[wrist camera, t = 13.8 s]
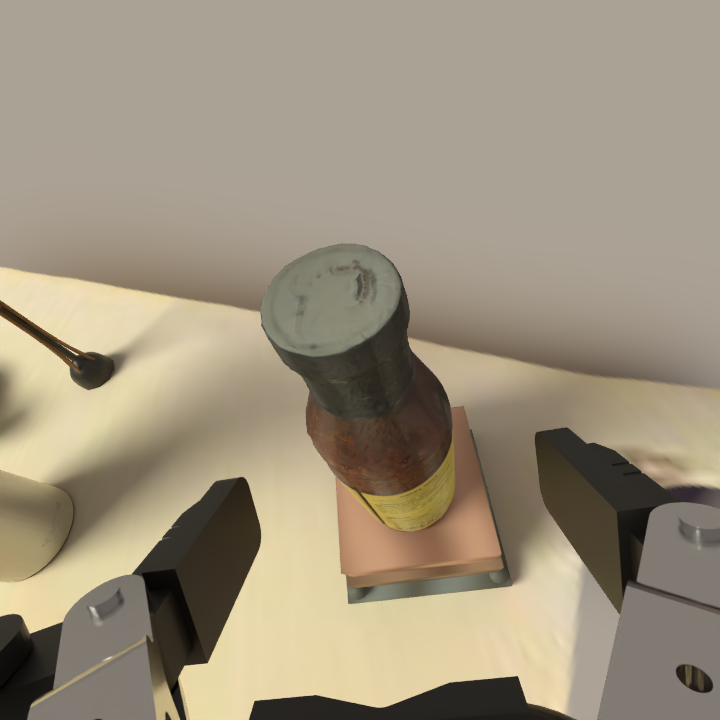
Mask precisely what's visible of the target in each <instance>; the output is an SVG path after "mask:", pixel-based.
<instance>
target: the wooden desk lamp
mask: <svg viewBox="0 0 720 720" xmlns="http://www.w3.org/2000/svg"><path fill="white" fill-rule="evenodd" d="M0 316H2V317H3V318H5V319H6V320H8V321H10V322H11V323H13V324H14V325H16V326H17V327H19V328H20V329H22V330H23V331H25V332H26V333H27V334H29V335H30V336H32V337H33V338H35V339H36V340H38V341H39V342H40V343H42V344H43V345H44V346H46V347H47V348H48V349H50V350H51V351H52V352H54V353H55V354H56V355H57V356H59V357H60V358H61V359H62V360H63V361H64V362H65V363H66V364H67V365H68V366H69V367H70V375H71V378H72V379H73V381H74V382H75V383H76V384H78V385H79V386H81V387H83V388H85V389H87V390H90V389H94V388H97V387H100V386H101V385H102V384H104V383H105V382H106V381H107V380H109V379H110V377H111V375H112V373H113V371H114V364H113V361H112V360H111V359H110V358H108V357H106V356H104V355H101V354H99V353H96V352H86V353H84V352H81V351H79V350H77V349H75V348H73V347H71V346H69V345H68V344H66V343H64V342H62V341H61V340H59V339H57V338H56V337H54V336H53V335H51V334H49V333H48V332H46V331H45V330H43V329H42V328H40V327H39V326H37V325H36V324H34V323H33V322H31V321H30V320H28V319H27V318H25V317H24V316H22V315H21V314H19V313H18V312H16V311H15V310H14V309H12V308H11V307H9V306H8V305H6V304H5V303H3V302H2V301H0ZM57 342H58V343H57ZM60 344H61V345H60ZM62 345H63V346H65V347H66V348H68V349H70V350H72V351H74V352H75V353H77V354H79V355H75V354H74V353H72V352H71V351H69V350H68V349H66V348H65V347H63V346H62ZM66 357H67V358H66ZM69 359H70V360H72V362H71V361H70V360H69Z"/></svg>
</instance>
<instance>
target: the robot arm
mask: <svg viewBox="0 0 720 720" xmlns="http://www.w3.org/2000/svg"><path fill="white" fill-rule="evenodd" d="M535 446H536V455H537V464H538V473H539V482H540V489H541V494H542V497H543V500H544V503H545V505H546V508H547V509H548V511H549V513H550V514H551V516H552V517H553V519H554V520H555V521H556V523H557V524H558V526H559V527H560V529H561V530H562V532H563V533H564V535H565V536H566V537H567V539H568V540H569V542H570V543H571V545H572V546H573V548H574V549H575V550H576V552H577V553H578V555H579V556H580V558H581V559H582V561H583V562H584V564H585V565H586V566H587V568H588V569H589V571H590V572H591V574H592V575H593V577H594V578H595V579H596V581H597V582H598V584H599V585H600V587H601V588H602V590H603V591H604V593H605V594H606V595H607V597H608V598H609V600H610V601H611V603H612V604H613V605H614V607H615V609H616V610H617V611H618V613H619V614H620V618H619V622H618V627H617V631H616V636H615V640H614V645H613V649H612V654H611V659H610V664H609V668H608V672H607V677H606V682H605V686H604V691H603V696H602V700H601V705H600V709H599V714H598V719H597V720H720V509H718V508H714V507H710V506H706V505H702V504H695V503H684V502H683V503H682V502H680V501H679V500H678V499H677V498H675V497H674V496H672V495H671V494H670V493H669V492H667V491H666V490H665V489H664V488H662V487H661V486H660V485H658V484H657V483H656V482H655V481H653V480H652V479H651V478H649V477H648V476H647V475H645V474H642V473H641V471H640V470H639V469H638V468H636V467H635V466H634V465H633V464H629V461H627V460H626V459H625V458H623V457H622V456H621V455H620V454H618V453H617V452H616V451H614V450H612V449H609V448H606V447H604V446H601V445H599V444H596V443H589V444H586V443H585V442H584V441H583V440H582V439H581V438H579V437H578V436H577V435H576V434H575V433H573V432H572V431H571V430H570V429H569V428H560V429H553V430H547V431H541V432H537V433H536V435H535ZM72 520H73V504H72V500H71V498H70V497H69V495H68V494H67V493H66V492H65V491H64V490H62V489H59V488H57V487H53V486H50V485H47V484H44V483H40V482H37V481H34V480H30V479H28V478H24V477H21V476H18V475H15V474H11V473H8V472H5V471H1V470H0V582H16V581H21V580H23V579H26V578H28V577H30V576H32V575H34V574H35V573H37V572H38V571H40V570H41V569H42V568H43V567H45V566H46V565H47V564H48V563H49V562H50V561H51V560H52V559H53V558H54V556H55V555H56V554H57V552H58V551H59V550H60V548H61V547H62V545H63V543H64V542H65V540H66V538H67V536H68V533H69V531H70V528H71V525H72ZM260 543H261V529H260V524H259V520H258V517H257V513H256V509H255V506H254V502H253V499H252V495H251V492H250V488H249V485H248V482H247V481H246V479H245V478H243V477H239V478H232V479H226V480H220V481H216V482H215V483H214V484H213V485H212V486H211V487H210V489H209V490H208V491H207V492H206V494H205V495H204V496H203V497H202V499H201V500H200V501H198V502H197V503H196V504H194V505H193V506H192V507H190V508H189V509H188V510H186V511H185V512H184V513H182V515H181V516H180V517H179V518H178V519H177V521H176V522H175V523H174V524H173V525H172V529H169V530H168V531H167V533H166V534H165V535H164V536H163V537H162V540H161V541H159V542H158V543H157V545H156V546H155V547H154V548H153V549H152V551H151V552H150V553H149V554H148V555H147V557H146V558H145V559H144V560H143V561H142V563H141V564H140V565H139V566H138V567H137V569H136V570H135V571H134V572H133V573H132V575H125V576H121V577H117V578H115V579H112V580H110V581H107V582H105V583H103V584H101V585H100V586H98V587H96V588H95V589H93V590H91V591H90V592H89V593H87V594H86V595H85V596H83V597H82V598H81V599H80V600H79V601H78V602H77V603H75V604H74V606H73V607H72V608H71V609H70V610H69V612H68V613H67V614H66V616H65V618H64V621H63V622H62V623H59V624H56V625H53V626H51V627H48V628H45V629H42V630H39V631H37V632H34V633H31V634H29V631H28V629H27V627H26V625H25V622H24V620H23V618H22V617H21V616H20V615H17V614H10V615H5V616H1V617H0V720H190V719H189V714H188V709H187V705H186V700H185V695H184V691H183V687H182V684H181V681H180V679H179V675H180V673H181V671H182V669H183V667H184V666H185V665H195V664H204V663H208V661H209V659H210V657H211V654H212V652H213V650H214V648H215V646H216V643H217V641H218V639H219V637H220V635H221V632H222V630H223V628H224V626H225V623H226V621H227V619H228V617H229V615H230V612H231V610H232V608H233V606H234V603H235V601H236V599H237V597H238V595H239V592H240V590H241V588H242V586H243V584H244V581H245V579H246V577H247V575H248V572H249V570H250V568H251V566H252V564H253V561H254V559H255V557H256V555H257V553H258V550H259V547H260ZM249 720H576V719H574V718H572V717H569V716H567V715H565V714H562V713H560V712H558V711H555V710H551V709H548V708H545V707H542V706H538V705H533V704H528V703H527V702H526V699H525V696H524V693H523V690H522V687H521V684H520V681H519V678H518V676H515V677H505V678H494V679H484V680H473V681H462V682H452V683H448V684H445V685H442V686H440V687H437V688H435V689H432V690H429V691H427V692H424V693H422V694H419V695H416V696H414V697H411V698H409V699H406V700H403V701H401V702H398V703H396V704H393V705H390V706H388V707H384V708H375V707H370V706H365V705H361V704H356V703H351V702H346V701H341V700H336V699H332V698H327V697H322V696H317V695H313V696H303V697H292V698H281V699H271V700H260V701H255V702H254V705H253V708H252V712H251V715H250V718H249Z"/></svg>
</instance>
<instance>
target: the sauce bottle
mask: <svg viewBox="0 0 720 720" xmlns="http://www.w3.org/2000/svg"><path fill="white" fill-rule="evenodd" d="M409 318H410V311H409V304H408V299H407V295H406V292H405V288H404V286H403V282H402V279H401V276H400V274H399V272H398V271H397V269H396V268H395V266H394V264H393V263H392V262H391V261H390V260H389V259H387V258H386V257H385V256H384V255H382V254H381V253H380V252H378V251H376V250H373V249H371V248H369V247H367V246H363V245H358V244H338V245H332V246H328V247H324V248H320V249H317V250H315V251H313V252H310V253H308V254H306V255H304V256H302V257H300V258H298V259H296V260H294V261H293V262H291V263H289V264H288V265H286V266H285V267H284V268H283V269H282V270H281V271H280V272H279V273H278V274H277V275H276V276H275V277H274V279H273V280H272V282H271V283H270V285H269V286H268V288H267V290H266V292H265V294H264V297H263V301H262V306H261V320H262V324H261V326H262V327H263V329H264V331H265V333H266V335H267V337H268V339H269V340H270V342H271V344H272V345H273V347H274V349H275V350H276V352H277V353H278V355H279V356H280V358H281V359H282V361H283V362H284V363H285V364H286V365H287V366H288V367H289V368H290V369H291V370H293V371H295V372H297V373H298V374H299V375H301V376H302V377H303V379H304V381H305V382H306V384H307V387H308V388H309V390H310V393H309V398H308V403H307V407H306V425H307V433H308V434H309V436H310V437H311V439H312V441H313V445H314V446H315V448H316V449H317V451H318V452H319V453H320V455H321V456H322V457H323V459H324V460H325V461H326V462H327V464H328V465H329V467H330V469H331V470H332V472H333V473H334V475H335V476H336V477H337V478H338V479H339V480H340V481H341V482H342V484H343V485H344V486H345V487H346V488H347V489H348V490H349V491H350V492H351V493H352V494H353V495H354V497H355V498H356V499H357V500H358V501H359V502H360V503H361V504H362V505H363V506H364V507H365V508H366V509H367V511H368V512H369V513H370V514H371V515H372V516H373V517H374V518H375V519H376V520H377V521H379V522H380V523H381V524H385V525H386V526H387V527H389V528H390V529H393V530H396V531H401V532H414V531H420V530H424V529H428V528H430V527H432V526H434V525H435V524H436V523H437V522H438V521H439V520H440V518H442V516H443V515H444V514H445V513H446V511H447V510H448V508H449V506H450V504H451V502H452V500H453V496H454V491H455V461H454V440H453V422H452V413H451V408H450V403H449V400H448V397H447V394H446V392H445V390H444V388H443V386H442V384H441V383H440V381H439V380H438V378H437V377H436V376H435V375H434V374H433V372H432V371H431V370H430V369H429V368H428V367H427V366H426V365H425V364H424V363H423V362H422V361H421V360H420V359H419V358H418V357H417V356H416V355H415V354H414V353H413V352H412V351H411V348H410V347H409V342H408V337H407V328H408V323H409Z"/></svg>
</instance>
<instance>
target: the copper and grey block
mask: <svg viewBox="0 0 720 720" xmlns="http://www.w3.org/2000/svg"><path fill="white" fill-rule="evenodd" d="M451 413H452V422H453V440H454V461H455V491H454V496H453V500H452V502H451V504H450V506H449V508H448V510H447V511H446V513H445V514H444V515H443V516H442V518H440V520H439V521H438V522H437V523H436V524H435V525H434V526H432V527H430V528H428V529H424V530H420V531H414V532H401V531H396V530H393V529H390V528H389V527H387V526H386V525H385V524H381V523H380V522H379V521H377V520H376V519H375V518H374V517H373V516H372V515H371V514H370V513H369V512H368V511H367V509H366V508H365V507H364V506H363V505H362V504H361V503H360V502H359V501H358V500H357V499H356V498H355V497H354V495H353V494H352V493H351V492H350V491H349V490H348V489H347V488H346V487H345V486H344V485H343V484H342V482H341V481H340V480H339V479H338V478H337V477H336V491H337V508H338V526H339V544H340V562H341V573H342V574H345V575H346V579H347V590H348V604H355V603H364V602H373V601H382V600H391V599H400V598H409V597H418V596H427V595H436V594H445V593H455V592H464V591H473V590H482V589H491V588H500V587H509V586H512V583H511V579H510V575H509V571H508V567H507V563H506V560H505V556H504V552H503V548H502V544H501V541H500V537H499V533H498V529H497V525H496V522H495V518H494V514H493V510H492V506H491V502H490V499H489V495H488V491H487V487H486V483H485V480H484V476H483V472H482V468H481V464H480V461H479V457H478V453H477V449H476V445H475V442H474V438H473V434H472V430H469V426H468V422H467V418H466V414H465V410H464V407H463V406H461V407H454V408H451Z"/></svg>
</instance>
